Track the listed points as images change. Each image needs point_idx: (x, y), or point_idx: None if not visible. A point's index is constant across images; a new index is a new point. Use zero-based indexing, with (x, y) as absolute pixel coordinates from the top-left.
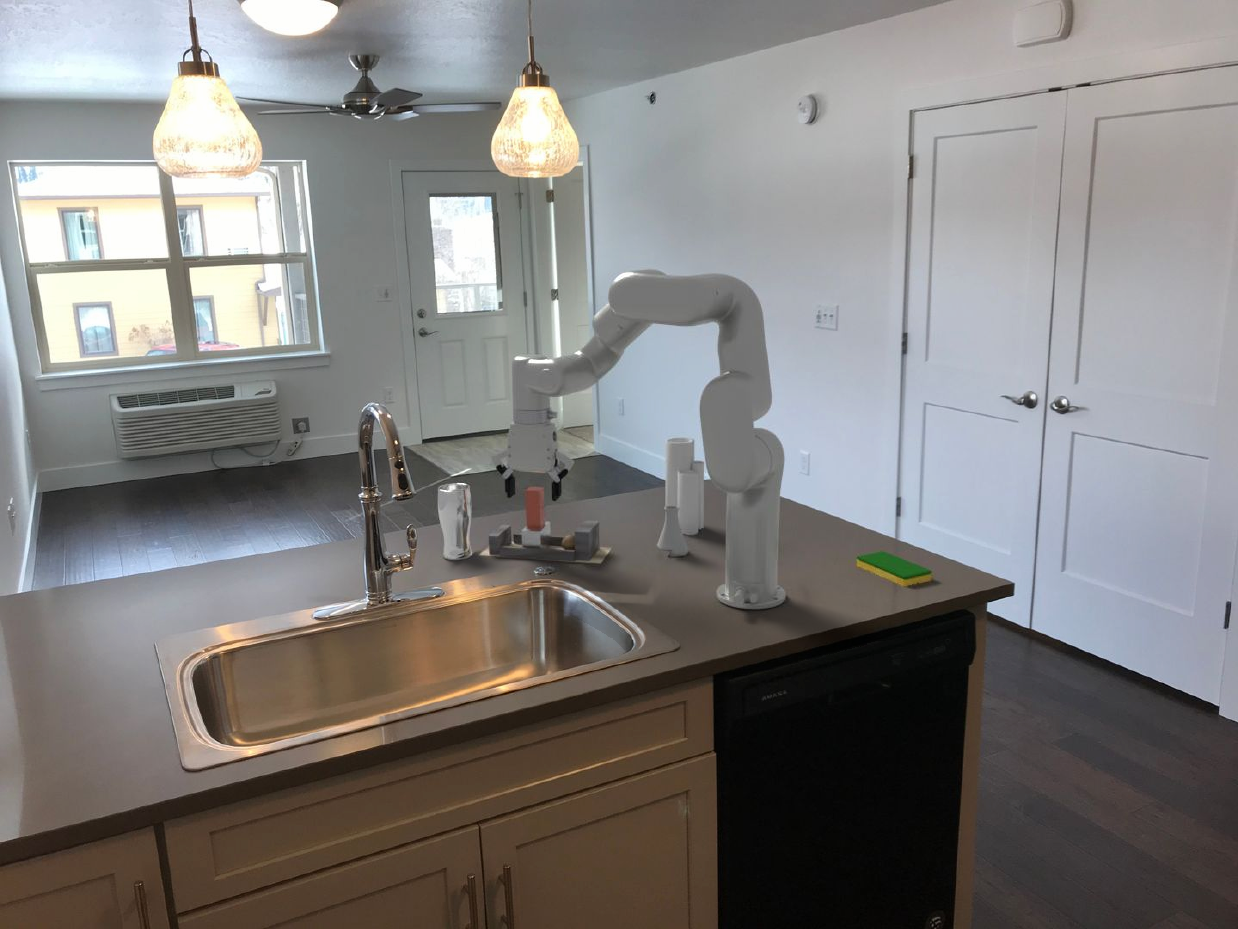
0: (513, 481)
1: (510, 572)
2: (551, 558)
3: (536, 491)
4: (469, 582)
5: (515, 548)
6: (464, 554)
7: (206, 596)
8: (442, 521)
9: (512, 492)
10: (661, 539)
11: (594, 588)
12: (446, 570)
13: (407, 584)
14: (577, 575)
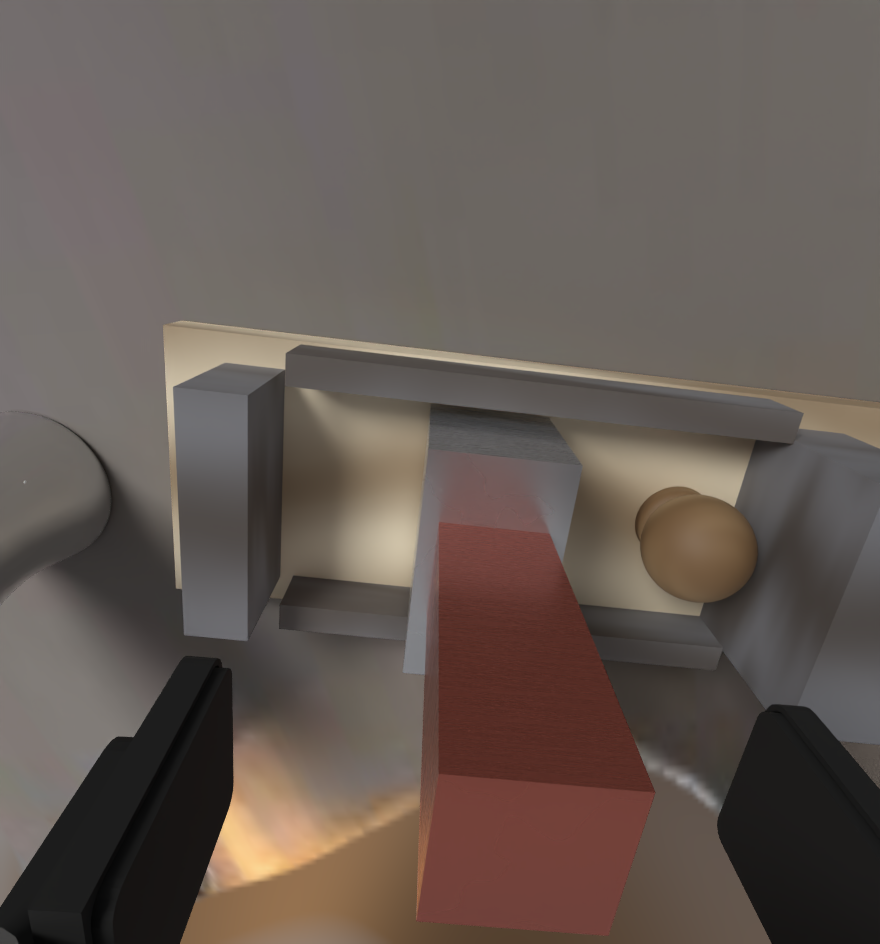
0: (152, 884)
1: (388, 677)
2: None
3: (566, 926)
4: (253, 783)
5: (379, 637)
6: (83, 545)
7: None
8: None
9: (216, 777)
10: None
11: None
12: (90, 675)
13: (20, 815)
14: (693, 688)
